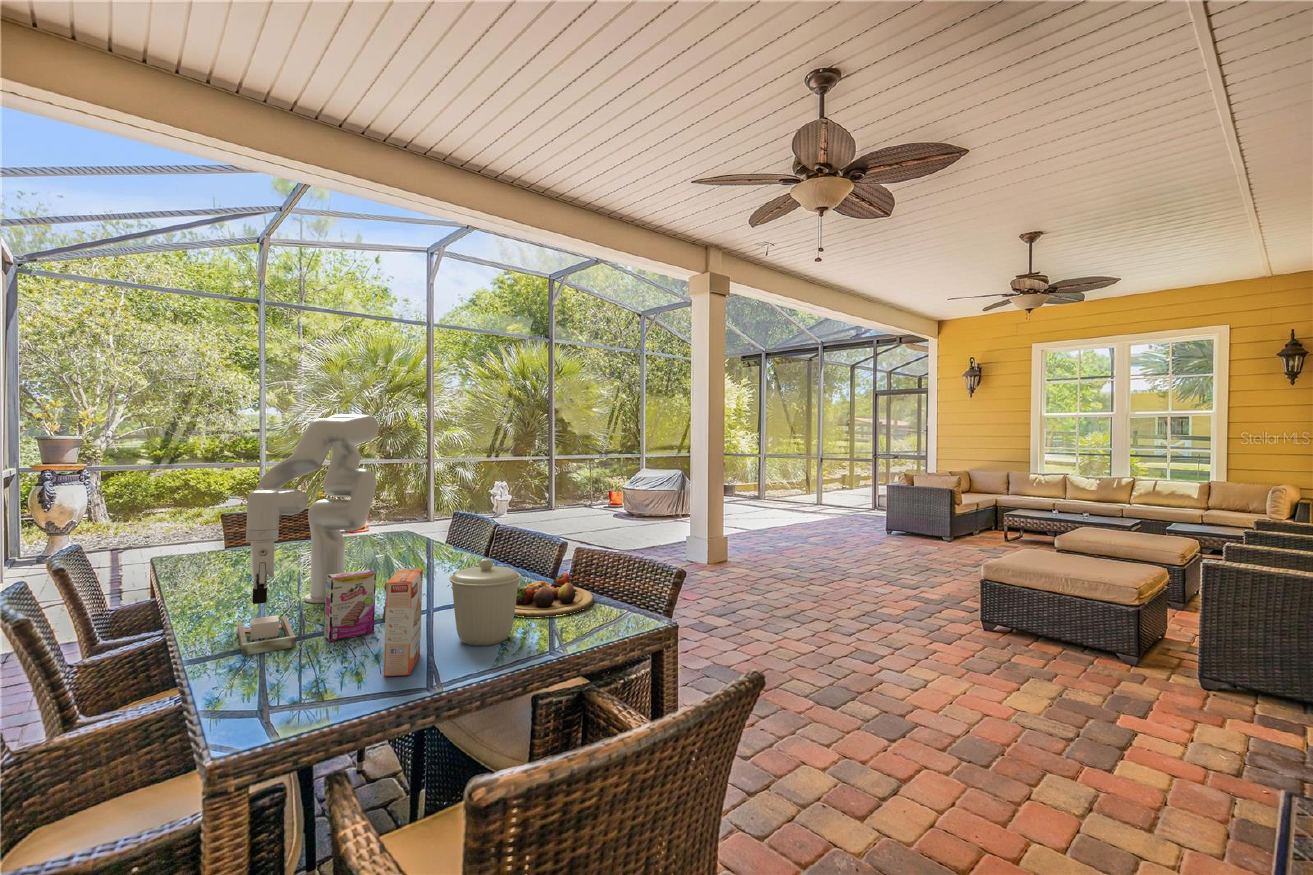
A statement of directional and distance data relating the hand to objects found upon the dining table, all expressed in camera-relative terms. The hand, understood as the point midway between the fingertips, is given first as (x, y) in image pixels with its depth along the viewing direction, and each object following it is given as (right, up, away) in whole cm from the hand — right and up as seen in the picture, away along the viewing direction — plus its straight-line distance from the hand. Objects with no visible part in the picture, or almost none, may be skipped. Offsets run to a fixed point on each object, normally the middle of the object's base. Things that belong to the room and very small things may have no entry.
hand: (259, 602), depth 167 cm
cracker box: (+50, -8, -26) cm, 57 cm away
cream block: (+6, -7, -7) cm, 11 cm away
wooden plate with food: (+72, -8, +27) cm, 78 cm away
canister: (+64, -8, -8) cm, 65 cm away
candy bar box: (+28, -7, -7) cm, 30 cm away
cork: (+33, -7, +8) cm, 35 cm away
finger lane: (+8, -6, -10) cm, 14 cm away
